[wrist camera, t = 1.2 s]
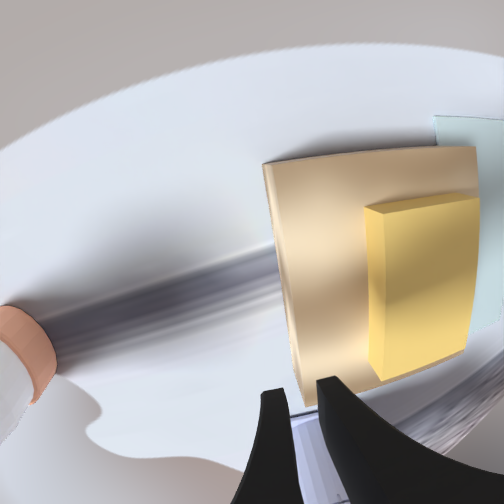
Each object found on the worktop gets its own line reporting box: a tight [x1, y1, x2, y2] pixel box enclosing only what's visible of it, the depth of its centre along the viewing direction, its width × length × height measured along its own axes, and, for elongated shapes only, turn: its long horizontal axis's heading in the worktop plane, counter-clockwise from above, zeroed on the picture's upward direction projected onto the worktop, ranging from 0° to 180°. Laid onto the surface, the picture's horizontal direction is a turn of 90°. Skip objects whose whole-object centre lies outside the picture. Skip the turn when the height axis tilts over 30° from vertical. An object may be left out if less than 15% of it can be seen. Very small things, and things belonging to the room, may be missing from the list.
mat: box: [433, 116, 504, 335], centre depth 19 cm, size 18×8×1 cm, turn 10°
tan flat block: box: [262, 146, 479, 407], centre depth 17 cm, size 14×12×4 cm
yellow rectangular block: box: [364, 193, 480, 381], centre depth 14 cm, size 9×6×2 cm, turn 10°
